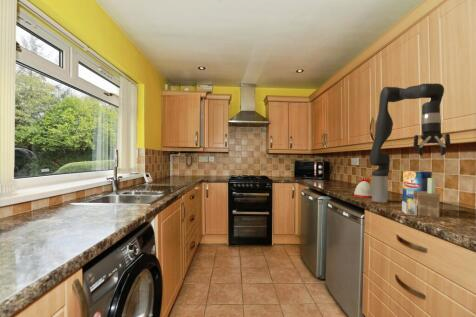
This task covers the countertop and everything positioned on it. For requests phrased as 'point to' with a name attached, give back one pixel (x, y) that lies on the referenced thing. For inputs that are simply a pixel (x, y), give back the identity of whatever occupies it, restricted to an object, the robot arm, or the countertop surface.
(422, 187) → the beverage box
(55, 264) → the countertop surface
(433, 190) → the sage board
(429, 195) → the oak rack
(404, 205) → the small printed carton
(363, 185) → the kitchen timer
